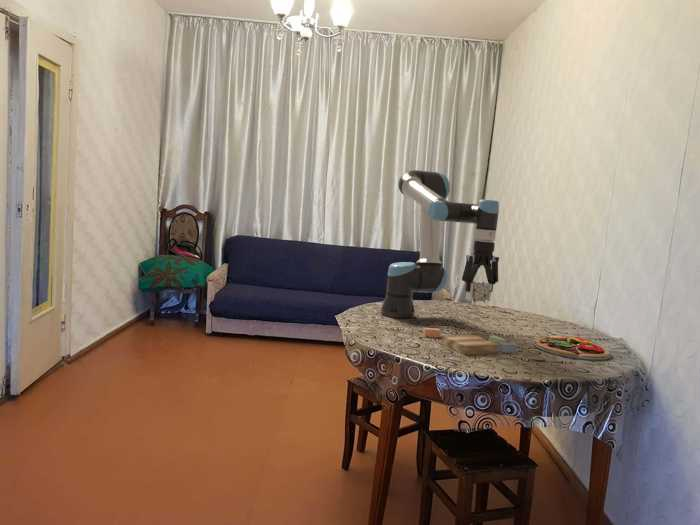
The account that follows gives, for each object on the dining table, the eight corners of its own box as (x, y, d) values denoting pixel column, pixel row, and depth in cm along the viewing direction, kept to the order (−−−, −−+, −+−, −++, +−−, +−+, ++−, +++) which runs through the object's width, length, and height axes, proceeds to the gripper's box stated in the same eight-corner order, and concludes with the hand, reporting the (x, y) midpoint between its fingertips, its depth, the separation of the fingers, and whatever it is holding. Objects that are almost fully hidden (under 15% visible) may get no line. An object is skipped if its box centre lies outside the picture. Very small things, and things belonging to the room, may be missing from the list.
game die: (480, 312, 218) (493, 294, 212) (460, 302, 219) (472, 283, 212) (484, 299, 225) (496, 281, 219) (464, 289, 226) (476, 271, 220)
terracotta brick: (424, 337, 216) (425, 329, 216) (422, 335, 219) (423, 327, 219) (440, 338, 217) (440, 330, 217) (438, 336, 220) (439, 328, 220)
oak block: (441, 343, 207) (442, 335, 207) (472, 342, 213) (473, 334, 213) (464, 354, 194) (465, 346, 194) (497, 353, 200) (498, 344, 200)
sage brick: (488, 343, 214) (488, 336, 214) (493, 343, 216) (494, 335, 216) (499, 348, 209) (500, 340, 209) (505, 347, 211) (506, 339, 211)
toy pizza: (621, 366, 199) (622, 353, 199) (538, 355, 204) (540, 343, 203) (600, 347, 227) (602, 336, 226) (528, 338, 231) (529, 328, 231)
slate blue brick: (502, 353, 202) (503, 344, 202) (497, 350, 205) (498, 342, 205) (516, 352, 204) (517, 344, 204) (511, 350, 207) (512, 342, 207)
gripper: (468, 240, 209) (461, 302, 211) (513, 243, 217) (505, 302, 220) (456, 238, 215) (449, 298, 218) (500, 241, 224) (493, 298, 227)
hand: (477, 300), depth 219 cm, fingers closed on game die, 8 cm apart
